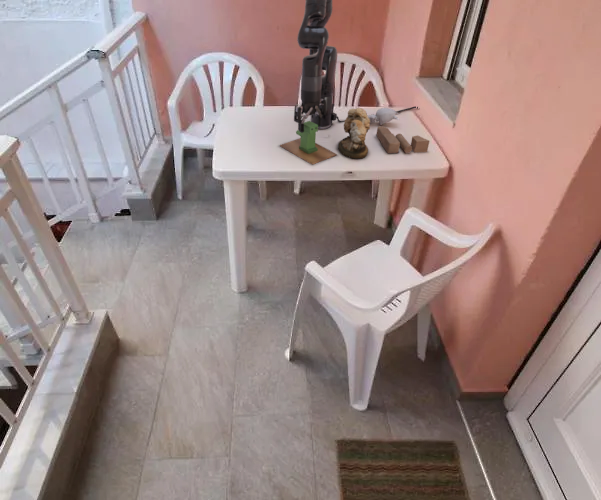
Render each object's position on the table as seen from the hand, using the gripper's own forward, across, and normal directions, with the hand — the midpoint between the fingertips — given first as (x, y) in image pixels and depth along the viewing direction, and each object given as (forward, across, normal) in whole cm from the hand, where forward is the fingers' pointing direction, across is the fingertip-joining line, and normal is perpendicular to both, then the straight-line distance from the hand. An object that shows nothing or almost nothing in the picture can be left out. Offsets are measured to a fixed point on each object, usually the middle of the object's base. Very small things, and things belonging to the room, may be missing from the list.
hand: (309, 129), depth 161 cm
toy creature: (+10, +44, +1) cm, 45 cm away
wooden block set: (+10, +35, -19) cm, 41 cm away
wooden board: (+9, 0, 0) cm, 9 cm away
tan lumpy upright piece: (+10, +15, -10) cm, 20 cm away
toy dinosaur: (+7, -1, +4) cm, 8 cm away
